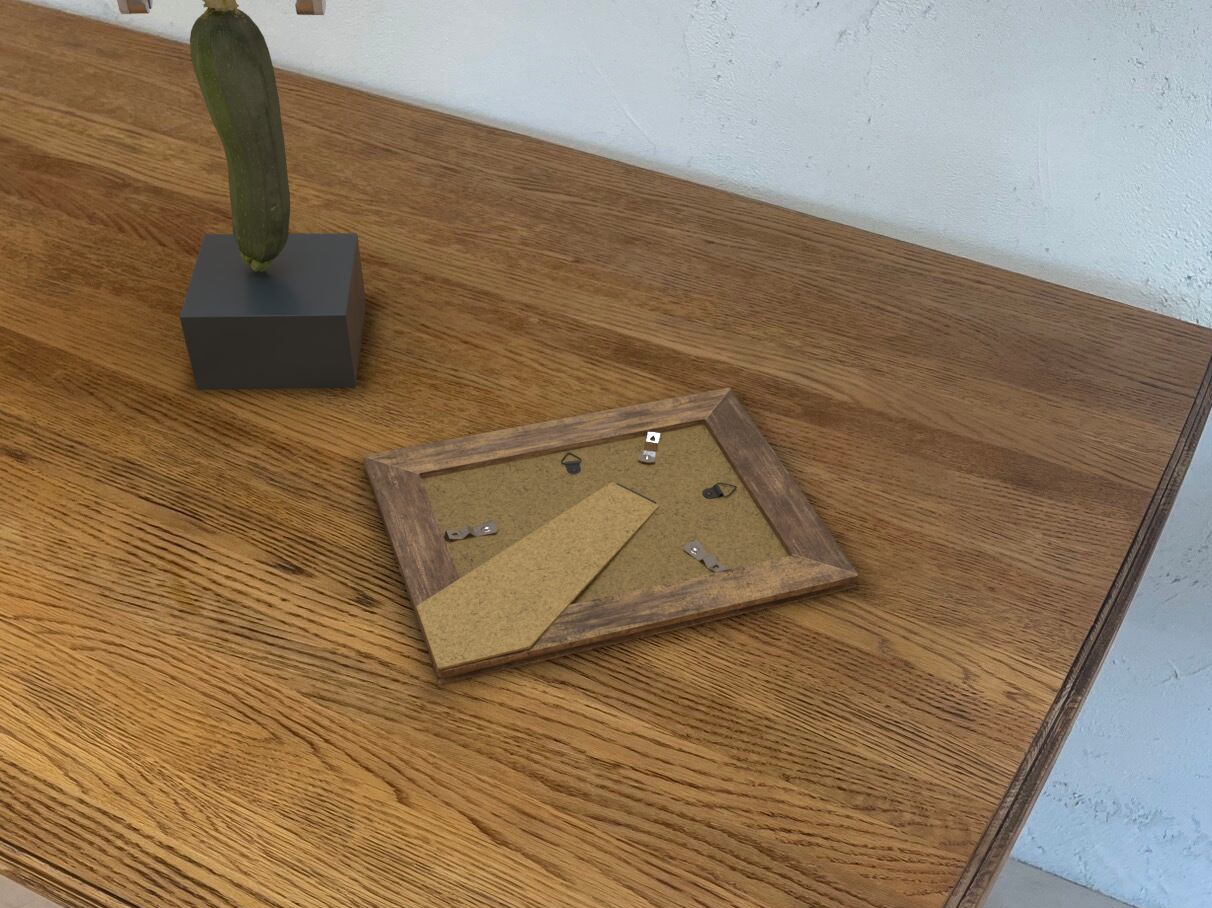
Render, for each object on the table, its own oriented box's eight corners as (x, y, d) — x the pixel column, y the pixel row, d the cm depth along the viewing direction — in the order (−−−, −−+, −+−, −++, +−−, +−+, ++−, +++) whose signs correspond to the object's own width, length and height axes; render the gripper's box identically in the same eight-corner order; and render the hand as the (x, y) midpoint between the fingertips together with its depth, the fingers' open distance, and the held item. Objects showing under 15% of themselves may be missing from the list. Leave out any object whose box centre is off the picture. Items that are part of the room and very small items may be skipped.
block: (198, 398, 86) (179, 316, 82) (220, 313, 93) (203, 233, 89) (357, 395, 87) (345, 314, 83) (367, 311, 94) (357, 232, 90)
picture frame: (440, 692, 69) (854, 595, 75) (437, 668, 68) (859, 571, 74) (365, 475, 81) (727, 406, 88) (361, 451, 80) (730, 383, 86)
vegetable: (306, 253, 88) (253, -80, 73) (306, 288, 85) (251, -51, 70) (235, 257, 87) (169, -78, 73) (233, 292, 84) (163, -49, 70)
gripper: (394, -298, 67) (417, -10, 77) (-29, -308, 66) (50, -13, 76) (387, -267, 63) (413, 35, 73) (-67, -277, 62) (22, 32, 71)
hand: (225, 11), depth 74 cm, fingers open, 8 cm apart
